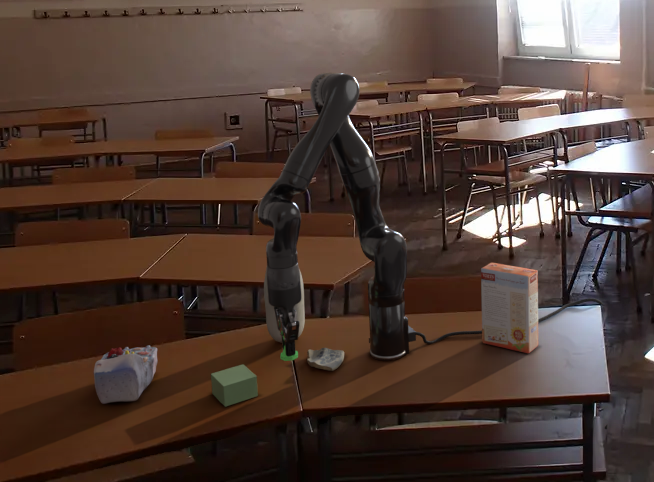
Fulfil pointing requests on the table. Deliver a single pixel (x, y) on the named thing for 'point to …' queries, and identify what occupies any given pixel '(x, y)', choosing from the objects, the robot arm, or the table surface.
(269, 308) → the white bottle
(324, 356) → the ceramic fragment
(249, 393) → the green block
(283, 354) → the game piece
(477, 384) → the table surface
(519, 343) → the cracker box
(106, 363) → the cell model
